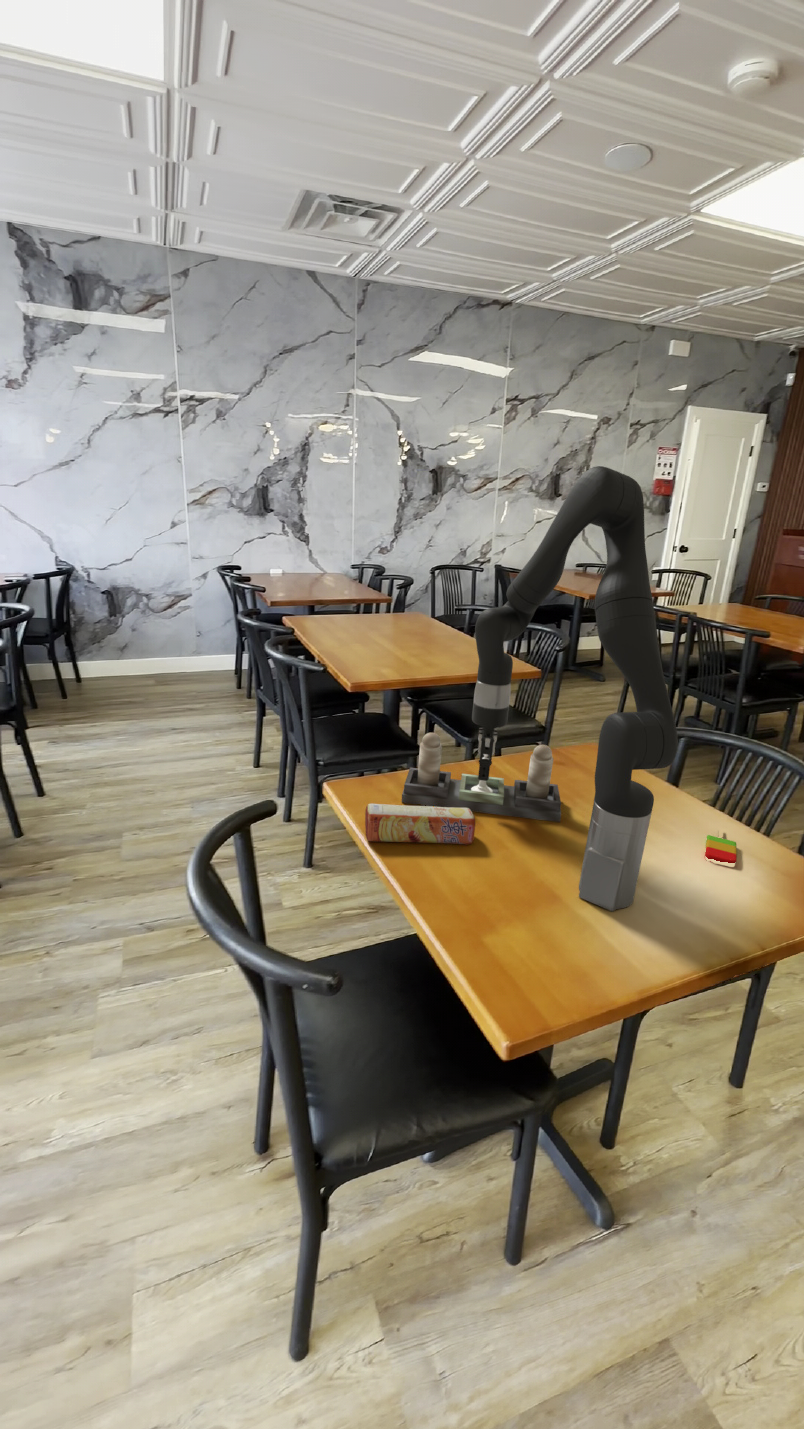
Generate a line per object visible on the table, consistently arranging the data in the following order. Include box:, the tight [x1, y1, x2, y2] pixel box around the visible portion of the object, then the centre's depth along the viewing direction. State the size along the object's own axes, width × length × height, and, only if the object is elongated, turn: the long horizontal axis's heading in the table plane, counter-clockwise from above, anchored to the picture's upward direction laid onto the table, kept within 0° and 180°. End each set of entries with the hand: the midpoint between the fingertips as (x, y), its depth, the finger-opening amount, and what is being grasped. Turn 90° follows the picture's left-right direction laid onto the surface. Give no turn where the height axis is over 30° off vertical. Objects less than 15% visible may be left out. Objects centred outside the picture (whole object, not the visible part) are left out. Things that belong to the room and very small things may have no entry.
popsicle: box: [704, 834, 738, 863], centre depth 131 cm, size 6×15×2 cm, turn 154°
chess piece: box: [471, 754, 493, 793], centre depth 142 cm, size 5×5×10 cm
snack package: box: [364, 803, 476, 846], centre depth 127 cm, size 21×7×7 cm, turn 93°
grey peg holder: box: [401, 732, 562, 823], centre depth 142 cm, size 34×11×15 cm, turn 82°
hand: (483, 771), depth 142 cm, fingers open, 8 cm apart
